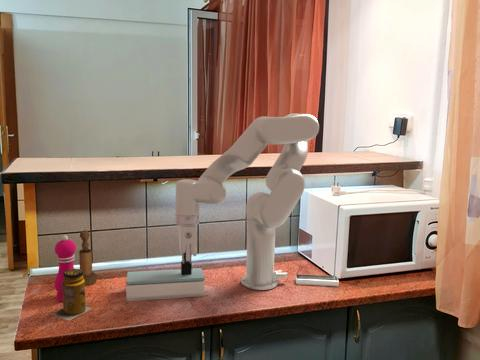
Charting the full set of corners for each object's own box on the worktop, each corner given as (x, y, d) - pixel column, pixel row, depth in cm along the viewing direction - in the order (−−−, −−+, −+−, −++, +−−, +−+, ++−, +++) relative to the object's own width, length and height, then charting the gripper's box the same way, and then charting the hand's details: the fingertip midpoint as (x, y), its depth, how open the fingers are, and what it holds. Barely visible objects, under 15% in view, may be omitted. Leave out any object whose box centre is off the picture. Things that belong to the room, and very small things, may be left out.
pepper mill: (71, 303, 127) (68, 239, 123) (49, 301, 128) (46, 237, 125) (84, 293, 134) (82, 232, 130) (64, 291, 135) (61, 231, 132)
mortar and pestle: (96, 285, 140) (94, 233, 137) (75, 287, 138) (73, 234, 135) (96, 277, 146) (95, 227, 143) (77, 279, 144) (74, 228, 141)
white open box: (201, 284, 143) (201, 270, 142) (204, 296, 134) (204, 281, 133) (128, 288, 138) (127, 274, 137) (126, 301, 129) (126, 285, 128)
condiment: (92, 308, 124) (91, 270, 122) (69, 321, 116) (67, 280, 114) (74, 303, 127) (72, 265, 125) (50, 315, 120) (48, 275, 118)
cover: (201, 270, 142) (201, 268, 142) (204, 280, 133) (204, 277, 133) (127, 274, 137) (127, 271, 137) (126, 284, 128) (126, 282, 128)
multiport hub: (295, 280, 150) (295, 274, 149) (336, 282, 149) (336, 276, 148) (296, 285, 145) (296, 279, 145) (338, 287, 145) (338, 281, 144)
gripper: (202, 225, 127) (200, 282, 130) (196, 212, 141) (195, 264, 144) (176, 225, 125) (175, 283, 128) (173, 213, 140) (173, 265, 143)
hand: (186, 273), depth 136 cm, fingers closed
